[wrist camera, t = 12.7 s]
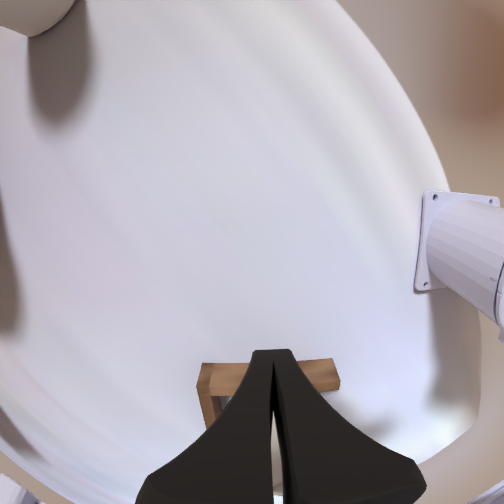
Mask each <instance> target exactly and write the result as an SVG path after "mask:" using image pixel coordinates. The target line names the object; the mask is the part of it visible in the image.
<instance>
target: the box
mask: <svg viewBox="0 0 504 504" xmlns="http://www.w3.org/2000/svg"><path fill="white" fill-rule="evenodd" d="M297 363H298V365H299V366H300V368H301V369H302V371H303V372H304V374H305V375H306V377H307V378H308V379H309V381H310V382H311V384H312V385H313V386H314V387H315V389H316V390H317V391H318V392H324V391H333V390H339V385H340V378H339V376H338V373H337V370H336V367H335V364H334V361H333V359H332V358H330V359H319V360H307V361H297ZM249 364H250V363H202V366H201V370H200V374H199V378H198V381H197V385H196V388H197V392H198V396H199V400H200V405H201V409H202V413H203V417H204V421H205V425H206V428H207V429H208V428H209V427H210V426H211V425H212V424H213V422H214V421H215V420H216V419H217V418H218V416H219V415H220V414H221V413H222V409H221V403H220V398H219V396H233V395H234V394H235V392H236V390H237V389H238V387H239V385H240V383H241V381H242V379H243V377H244V375H245V373H246V371H247V369H248V367H249Z"/></svg>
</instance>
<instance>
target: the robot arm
mask: <svg viewBox="0 0 504 504" xmlns="http://www.w3.org/2000/svg"><path fill="white" fill-rule="evenodd" d="M433 195H435V199H434V200H433ZM489 201H490V203H489ZM425 282H426V285H425V286H424V283H425ZM414 287H415V288H416V289H417V290H418V291H423V290H432V289H440V288H448V287H449V288H451V289H452V290H453V291H455V292H456V293H457V294H459V295H460V296H461V297H463V298H464V299H465V300H467V301H468V302H469V303H471V304H472V305H473V306H474V307H476V308H477V309H478V310H480V311H481V312H482V313H483V314H485V315H486V316H487V317H488V318H489V319H491V320H492V321H493V322H494V323H496V324H497V325H498V326H499V328H500V333H499V337H498V339H499V340H500V341H501V342H502V343H503V344H504V209H503V208H500V200H499V198H498V197H494V196H486V195H477V194H467V193H457V192H446V191H434V190H426V191H425V192H424V194H423V210H422V225H421V237H420V247H419V256H418V264H417V271H416V277H415V284H414ZM273 412H274V418H275V425H276V431H277V437H278V443H279V449H280V456H281V464H282V484H283V504H413V503H414V502H415V501H416V500H418V499H419V498H420V497H421V495H422V494H423V493H424V492H425V490H426V487H427V485H426V482H425V480H424V478H423V475H422V473H421V471H420V470H419V468H418V466H417V465H416V463H415V462H414V460H413V459H410V458H408V457H406V456H403V455H401V454H399V453H397V452H394V451H392V450H390V449H388V448H386V447H384V446H383V445H381V444H379V443H378V442H376V441H374V440H373V439H371V438H370V437H368V436H367V435H365V434H364V433H362V432H361V431H360V430H358V429H357V428H355V427H354V426H353V425H351V424H350V423H349V422H348V421H347V420H345V419H344V418H343V417H342V416H341V415H340V414H339V413H338V412H337V411H335V410H334V409H333V408H332V407H331V406H330V405H329V404H328V402H327V401H326V400H325V399H324V398H323V397H322V396H321V395H320V394H319V392H318V391H317V390H316V389H315V387H314V386H313V385H312V384H311V382H310V381H309V379H308V378H307V377H306V375H305V374H304V372H303V371H302V369H301V368H300V366H299V365H298V363H297V361H296V359H295V358H294V356H293V354H292V351H291V350H289V349H274V350H255V351H254V352H253V354H252V358H251V361H250V364H249V367H248V369H247V371H246V373H245V375H244V377H243V379H242V381H241V383H240V385H239V387H238V389H237V390H236V392H235V394H234V395H233V397H232V398H231V400H230V401H229V403H228V404H227V406H226V407H225V409H224V410H223V411H222V413H221V414H220V415H219V416H218V418H217V419H216V420H215V421H214V422H213V424H212V425H211V426H210V427H209V428H208V429H207V430H206V431H205V432H204V433H203V434H202V435H201V436H200V437H199V438H198V439H197V440H196V441H195V442H194V443H193V444H191V445H190V446H189V447H188V448H187V449H186V450H184V451H183V452H182V453H181V454H180V455H178V456H177V457H176V458H174V459H173V460H172V461H170V462H169V463H167V464H166V465H164V466H162V467H161V468H159V469H158V470H156V471H155V472H153V473H151V474H150V475H148V476H147V478H146V480H145V481H144V483H143V485H142V487H141V489H140V491H139V493H138V495H137V498H136V502H135V504H274V498H273V478H272V457H271V435H272V422H273ZM0 504H46V503H44V502H42V501H40V500H39V499H37V498H36V497H35V496H34V495H33V494H32V493H31V492H30V491H28V490H27V489H26V488H25V487H23V486H22V485H20V484H19V483H17V482H16V481H14V480H13V479H12V478H10V477H9V476H7V475H6V474H4V473H1V475H0ZM465 504H504V480H502V481H500V482H499V483H497V484H496V485H495V486H493V487H492V488H490V489H488V490H487V491H486V492H484V493H482V494H480V495H479V496H477V497H476V498H474V499H472V500H470V501H469V502H467V503H465Z"/></svg>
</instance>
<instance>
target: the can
mask: <svg viewBox="0 0 504 504" xmlns="http://www.w3.org/2000/svg"><path fill="white" fill-rule="evenodd" d="M74 2H75V0H0V26H3V27H6V28H8V29H11V30H13V31H16V32H18V33H21V34H23V35H26V36H30V37H32V36H35V35H39V34H40V33H42V32H44V31H46V30H48V29H49V28H51V27H53V26H54V25H55V24H56V23H58V22H59V21H60V20H61V19H62V18H63V17H64V16H65V15H66V14H67V13H68V11H69V10H70V8H71V7H72V6H73V4H74Z"/></svg>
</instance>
